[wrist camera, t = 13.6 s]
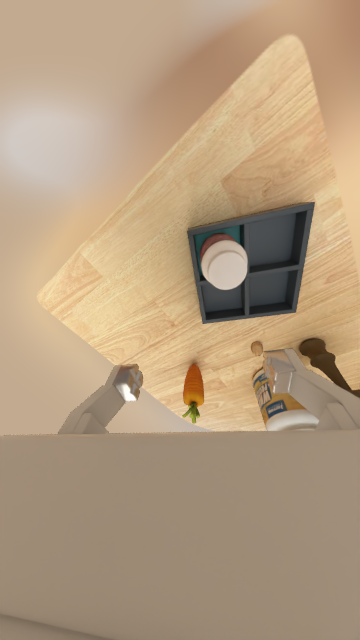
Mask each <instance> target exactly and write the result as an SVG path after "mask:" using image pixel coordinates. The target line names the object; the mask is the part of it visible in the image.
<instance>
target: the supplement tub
mask: <svg viewBox="0 0 360 640" xmlns="http://www.w3.org/2000/svg"><path fill="white" fill-rule="evenodd" d="M253 388H254V390H255V394H256V397H257V400H258V404H259V407H260V410H261V413H262V417H263V420H264V423H265V427H266V430H267V431H289V430H315V429H316V427H317V425H318V422H319V420H318V419H317V418H316V417H315V416H314V415H313V414H312V413H310V412H309V411H308V410H307V409H306V408H305V407H304V406H302V405H301V404H300V403H299V402H298V401H297V400H296V399H294V398H293V397H292V396H291V395H290V394H289V393H274V394H273V393H272V391H271V388H270V386H269V379H268V378H267V377H266V376H265V373H264V370H263V369H262V370H260V371H259V372H258V373H257V374H256V375H255V376H254V378H253Z"/></svg>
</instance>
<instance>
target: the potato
mask: <svg viewBox="0 0 360 640" xmlns="http://www.w3.org/2000/svg"><path fill="white" fill-rule="evenodd" d="M251 350H252V352H253V354H254V355H256V356H260V355H261V354H262V352H263V347H262V344H261V343H260V342H254V343H253V344H252V345H251Z"/></svg>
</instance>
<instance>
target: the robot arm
mask: <svg viewBox="0 0 360 640" xmlns="http://www.w3.org/2000/svg"><path fill="white" fill-rule="evenodd" d="M263 357H264V359H265V360H264V361H263V370H264V373H265V376H266V377H267V378H268V379H269V386H270V388H271V391H272V393H273V394H274V393H289V394H290V395H291V396H292V397H293V398H294V399H296V400H297V401H298V402H299V403H300V404H301V405H302V406H304V407H305V408H306V409H307V410H308V411H309V412H310V413H312V414H313V415H314V416H315V417H316V418H317V419H318V420H319V422H318V425H317V427H316V429H315V430H289V431H228V432H173V433H171V432H168V433H109V432H108V431H107V430H106V429H105V427H106V426H107V424H108V423H109V422H110V421H111V419H112V418H113V417H114V416H115V415H116V413H117V412H118V411H119V410H120V409H121V407H122V406H123V405H124V403H125V402H129V401H137V400H138V397H139V393H140V390H139V388H140V387H141V386H142V384H143V375H142V372H141V371H139V370H138V369H139V366H138V365H137V364H127V365H116V366H115V367H114V368H113V370H112V372H111V374H110V376H109V378H108V380H107V382H106V384H105V385H104V386H102V387H100V388H99V389H98V390H97V391H96V392H94V393H93V394H92V395H91V396H90V397H89V398H87V399H86V400H85V401H84V402H83V403H81V404H80V405H79V406H78V407H77V408H76V409H74V410H73V411H72V412H71V413H70V414H69V416H68V418H67V419H66V421H65V423H64V424H63V426H62V428H61V429H60V431H59V432H58V434H46V435H3V436H0V640H360V398H358V397H356V396H355V395H353V394H351V393H349V392H348V391H346V390H344V389H342V388H341V387H339V386H337V385H336V384H334V383H332V382H330V381H329V380H327V379H325V378H323V377H322V376H320V375H318V374H316V373H315V372H313V371H311V370H307V369H306V367H305V366H304V364H303V363H302V361H301V360H300V358H299V357H298V355H297V354H296V352H295V351H294V350H293V349H292V348H291V349H282V350H272V351H264V353H263Z"/></svg>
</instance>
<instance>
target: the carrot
mask: <svg viewBox="0 0 360 640" xmlns="http://www.w3.org/2000/svg"><path fill="white" fill-rule="evenodd" d="M183 399H184V403H185V404H186V405H188V406H189V410H188V411H187V412H186V413H185V414H184V415H183V417H186V416H187V415H188V414H189V413H190V412H191V414H190V417H191V418H192V423H196V417H197V418H199V417H200V414H199V411H198V409H197V407H198V406H200V405H202V404H203V403H204V389H203V380H202V375H201V372H200V370H199V368H198V366H197V365H196V364H193V365H192V366H191V367H190V368H189V370H188V372H187V375H186V379H185V384H184V392H183ZM192 408H193V409H192Z"/></svg>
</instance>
